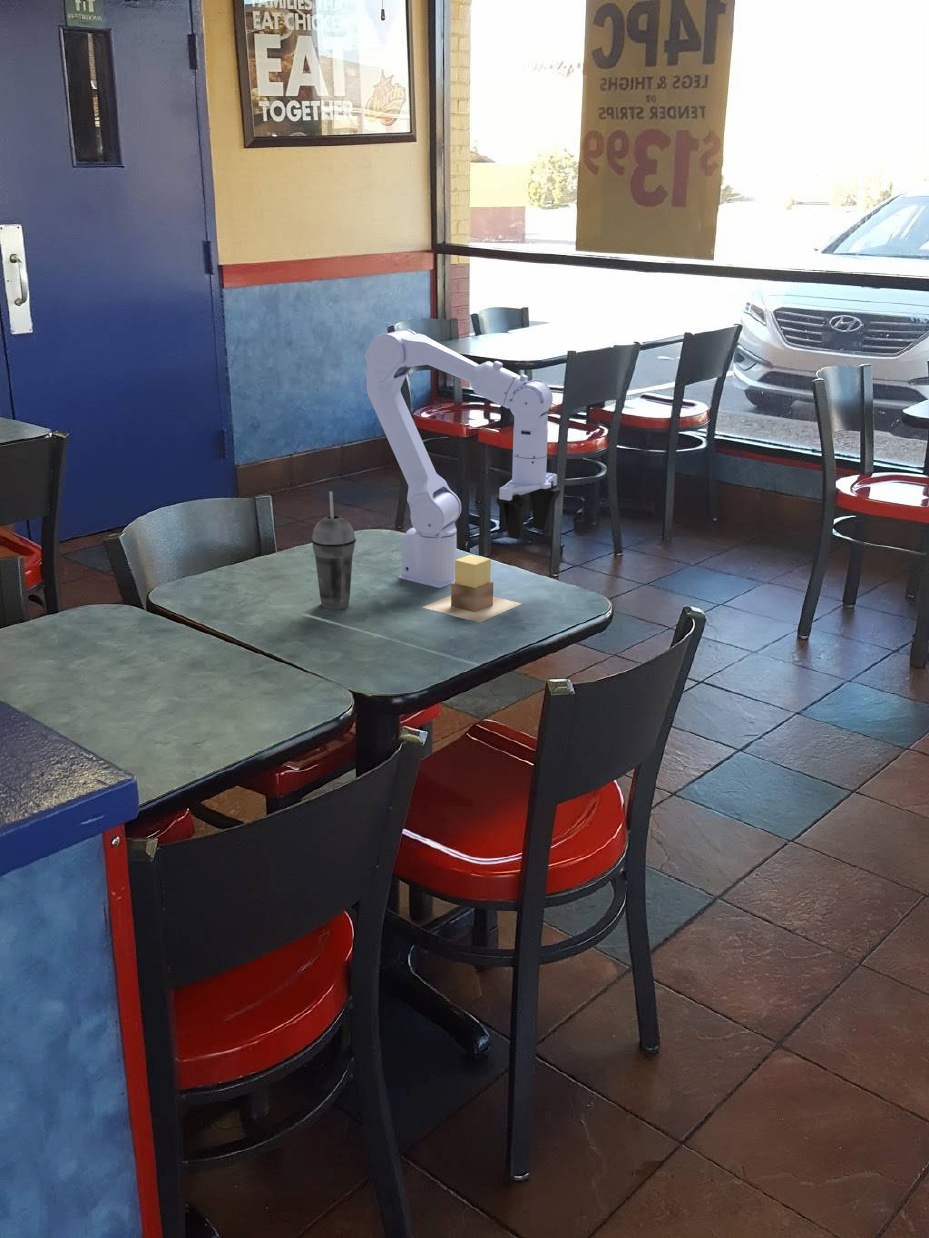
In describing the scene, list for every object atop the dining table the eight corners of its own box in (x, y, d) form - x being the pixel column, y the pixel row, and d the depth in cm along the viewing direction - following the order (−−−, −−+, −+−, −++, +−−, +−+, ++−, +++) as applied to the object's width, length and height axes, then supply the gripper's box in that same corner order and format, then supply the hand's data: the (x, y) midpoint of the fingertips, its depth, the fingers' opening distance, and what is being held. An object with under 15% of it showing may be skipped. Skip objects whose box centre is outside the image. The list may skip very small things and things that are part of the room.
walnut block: (451, 606, 200) (451, 583, 199) (469, 598, 204) (469, 576, 203) (475, 612, 197) (475, 589, 196) (492, 604, 201) (493, 581, 200)
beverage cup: (360, 600, 204) (358, 485, 197) (352, 615, 197) (350, 495, 190) (318, 599, 204) (314, 483, 197) (309, 613, 197) (305, 494, 191)
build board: (421, 609, 200) (421, 607, 200) (464, 591, 209) (464, 589, 209) (479, 624, 193) (479, 622, 193) (522, 605, 202) (522, 603, 202)
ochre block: (454, 583, 199) (455, 560, 198) (470, 577, 202) (470, 554, 201) (475, 588, 197) (475, 564, 195) (490, 582, 200) (490, 559, 198)
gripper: (525, 465, 194) (522, 546, 198) (573, 451, 205) (569, 528, 209) (489, 459, 198) (488, 539, 202) (538, 446, 209) (536, 521, 213)
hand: (527, 533), depth 206 cm, fingers open, 7 cm apart
